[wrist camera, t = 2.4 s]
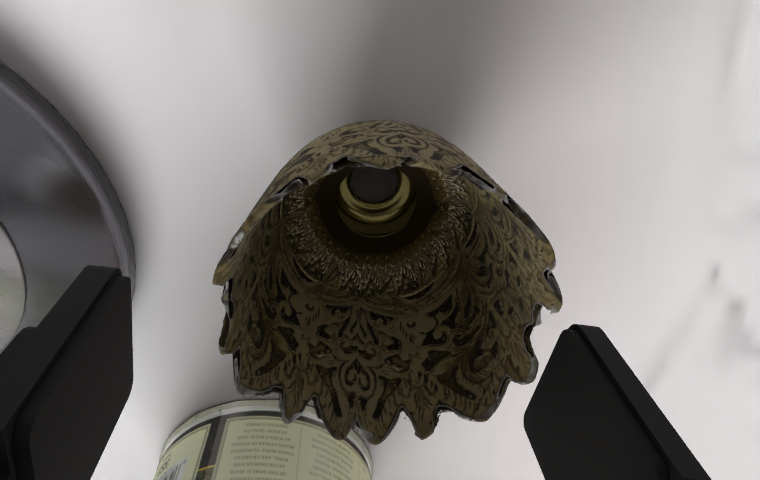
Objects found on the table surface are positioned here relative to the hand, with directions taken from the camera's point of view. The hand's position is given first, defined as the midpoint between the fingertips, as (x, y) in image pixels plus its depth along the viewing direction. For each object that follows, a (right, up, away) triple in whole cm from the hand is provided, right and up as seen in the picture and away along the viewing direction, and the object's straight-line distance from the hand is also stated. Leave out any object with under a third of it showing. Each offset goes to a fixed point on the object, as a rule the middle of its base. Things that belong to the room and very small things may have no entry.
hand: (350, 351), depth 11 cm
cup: (0, +5, +7) cm, 8 cm away
